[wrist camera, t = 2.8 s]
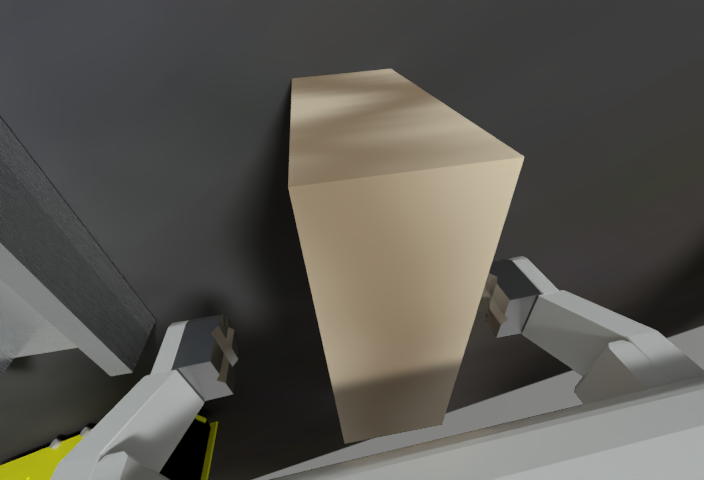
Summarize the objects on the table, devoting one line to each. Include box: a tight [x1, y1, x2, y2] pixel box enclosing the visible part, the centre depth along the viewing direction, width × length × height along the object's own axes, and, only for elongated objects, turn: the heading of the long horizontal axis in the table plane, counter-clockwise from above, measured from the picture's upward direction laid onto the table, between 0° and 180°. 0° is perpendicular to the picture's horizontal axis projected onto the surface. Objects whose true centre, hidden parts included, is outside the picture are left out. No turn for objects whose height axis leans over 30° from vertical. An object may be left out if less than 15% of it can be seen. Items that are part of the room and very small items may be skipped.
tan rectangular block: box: [288, 69, 524, 444], centre depth 11 cm, size 4×10×8 cm, turn 4°
